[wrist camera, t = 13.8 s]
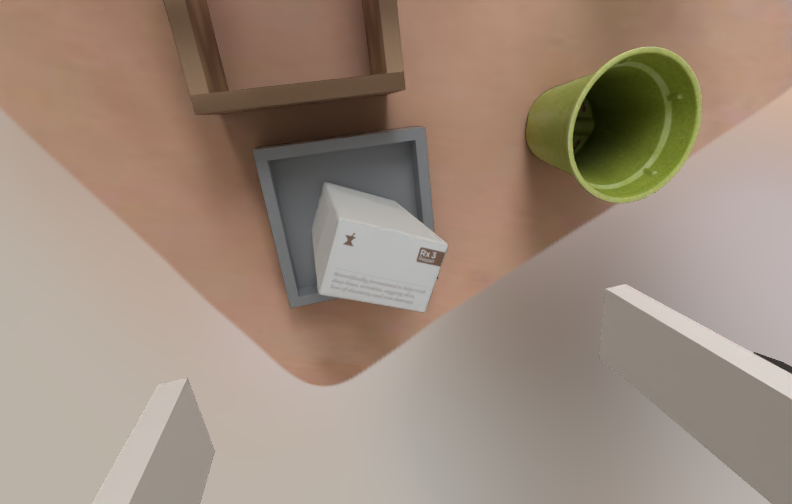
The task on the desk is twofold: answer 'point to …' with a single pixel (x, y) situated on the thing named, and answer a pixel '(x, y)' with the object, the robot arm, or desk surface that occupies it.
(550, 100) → the plant pot
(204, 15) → the walnut box
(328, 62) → the desk surface
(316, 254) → the skincare box
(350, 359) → the desk surface
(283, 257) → the charcoal tray
